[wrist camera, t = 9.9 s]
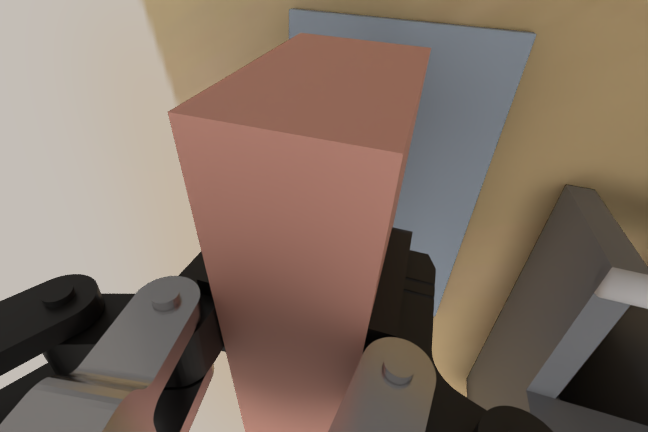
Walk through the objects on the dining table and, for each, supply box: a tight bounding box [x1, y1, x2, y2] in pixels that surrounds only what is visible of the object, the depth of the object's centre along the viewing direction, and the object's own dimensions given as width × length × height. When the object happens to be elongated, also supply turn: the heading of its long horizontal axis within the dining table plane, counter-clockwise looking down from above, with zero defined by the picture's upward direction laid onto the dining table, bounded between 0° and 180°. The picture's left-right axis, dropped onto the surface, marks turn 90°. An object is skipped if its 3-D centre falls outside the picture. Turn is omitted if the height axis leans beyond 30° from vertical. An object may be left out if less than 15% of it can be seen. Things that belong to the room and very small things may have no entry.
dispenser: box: [467, 185, 648, 432], centre depth 17 cm, size 16×7×9 cm, turn 176°
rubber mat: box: [289, 8, 536, 316], centre depth 19 cm, size 16×10×1 cm, turn 176°
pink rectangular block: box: [168, 33, 431, 432], centre depth 10 cm, size 12×3×5 cm, turn 176°
